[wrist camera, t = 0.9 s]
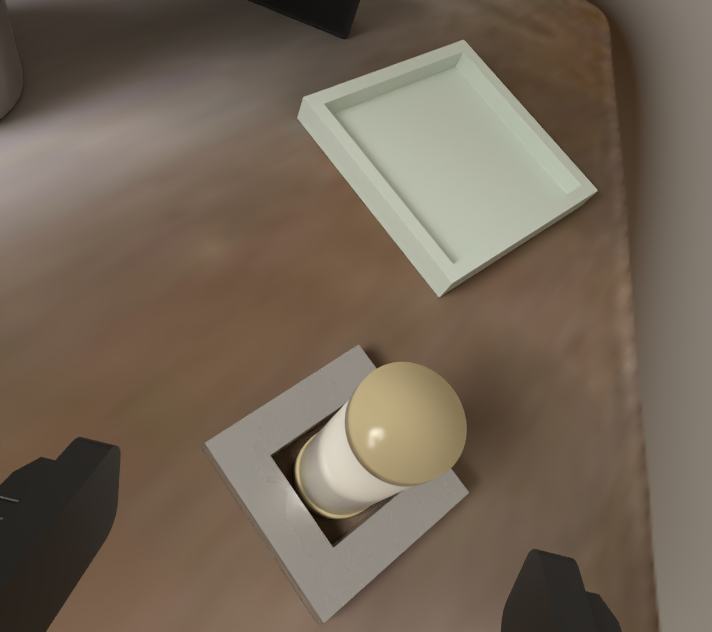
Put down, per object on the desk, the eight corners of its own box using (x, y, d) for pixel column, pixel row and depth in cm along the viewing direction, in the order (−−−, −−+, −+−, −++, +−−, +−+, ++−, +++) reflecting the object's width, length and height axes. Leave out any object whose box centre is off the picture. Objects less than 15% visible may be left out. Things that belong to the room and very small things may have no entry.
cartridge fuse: (276, 463, 31) (327, 401, 22) (343, 416, 34) (416, 341, 24) (327, 538, 31) (403, 508, 21) (392, 485, 33) (489, 436, 23)
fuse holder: (202, 449, 31) (204, 442, 29) (351, 354, 35) (358, 344, 34) (316, 622, 29) (323, 623, 27) (457, 497, 33) (469, 492, 32)
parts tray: (297, 118, 42) (303, 97, 40) (453, 59, 49) (463, 39, 48) (439, 297, 39) (452, 283, 37) (581, 206, 46) (597, 190, 45)
